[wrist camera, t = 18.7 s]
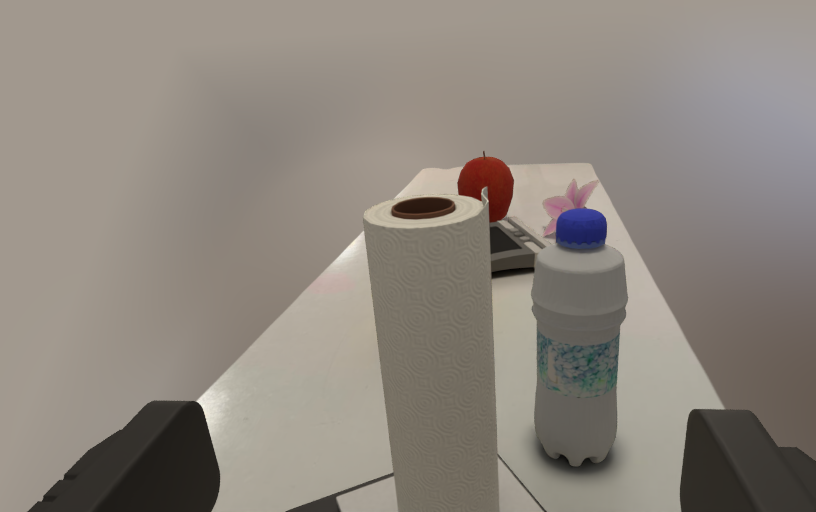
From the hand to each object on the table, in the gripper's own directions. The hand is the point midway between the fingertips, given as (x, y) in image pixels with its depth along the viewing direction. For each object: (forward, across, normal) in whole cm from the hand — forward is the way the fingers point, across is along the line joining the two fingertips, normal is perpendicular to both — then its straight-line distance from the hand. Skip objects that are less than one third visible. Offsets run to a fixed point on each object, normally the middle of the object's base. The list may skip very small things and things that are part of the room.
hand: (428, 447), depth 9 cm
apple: (+90, +1, +25) cm, 94 cm away
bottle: (+30, -7, +25) cm, 39 cm away
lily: (+81, -13, +25) cm, 86 cm away
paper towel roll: (+18, +2, +22) cm, 29 cm away
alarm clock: (+73, +1, +25) cm, 77 cm away
